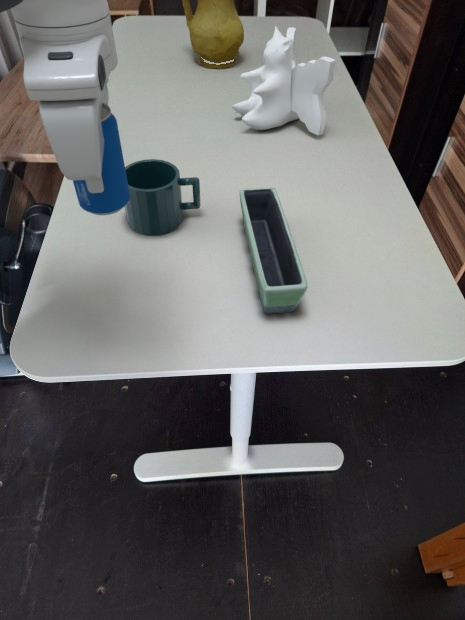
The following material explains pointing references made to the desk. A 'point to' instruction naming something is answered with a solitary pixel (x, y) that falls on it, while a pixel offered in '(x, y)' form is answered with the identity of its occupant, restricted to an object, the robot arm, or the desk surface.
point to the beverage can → (107, 173)
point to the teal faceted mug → (157, 197)
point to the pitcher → (215, 31)
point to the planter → (272, 251)
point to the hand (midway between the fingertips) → (98, 172)
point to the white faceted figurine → (286, 88)
